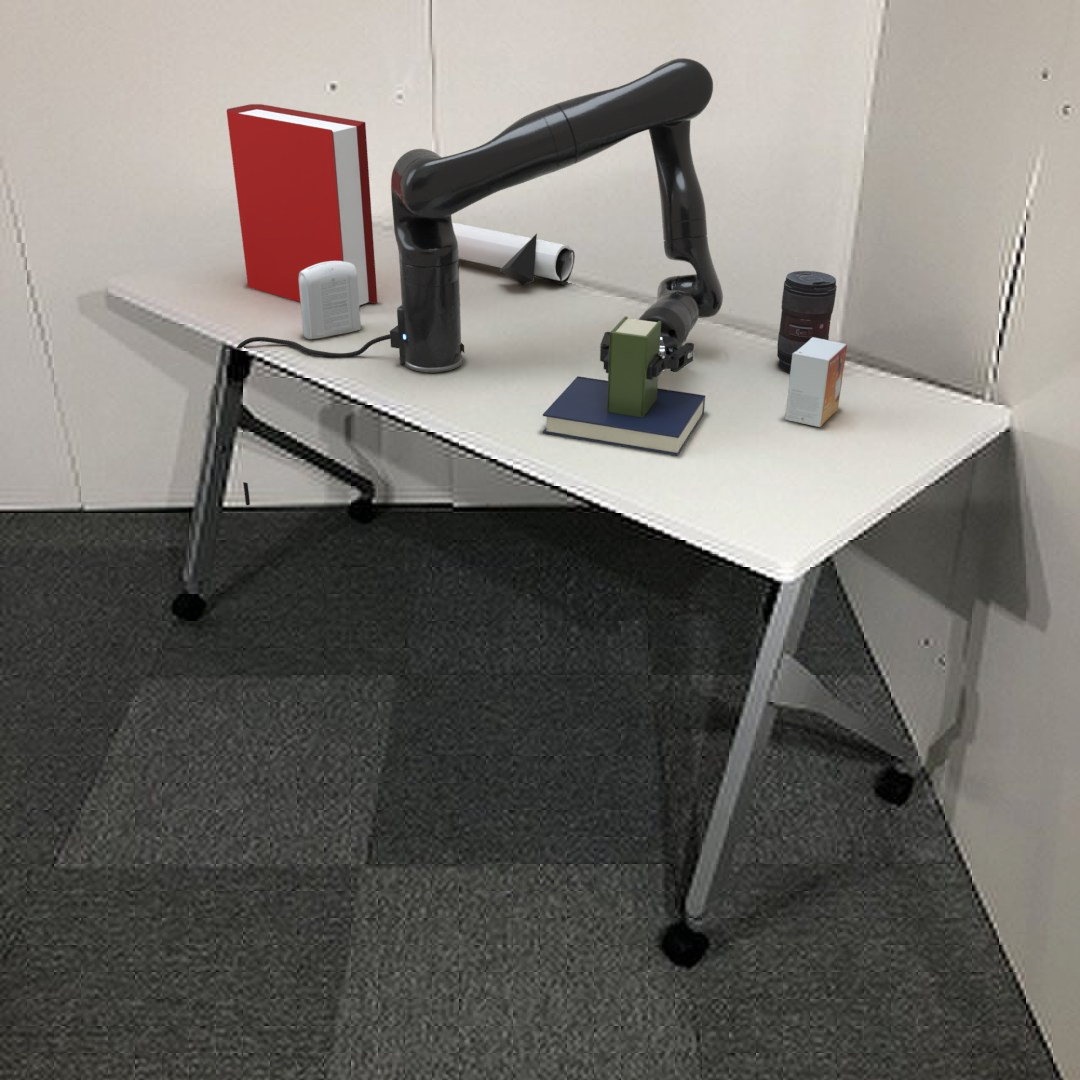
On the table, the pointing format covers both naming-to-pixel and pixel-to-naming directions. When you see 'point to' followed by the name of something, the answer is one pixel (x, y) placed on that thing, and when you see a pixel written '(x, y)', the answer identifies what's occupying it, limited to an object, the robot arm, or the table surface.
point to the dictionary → (632, 366)
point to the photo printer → (329, 299)
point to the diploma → (515, 254)
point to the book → (301, 196)
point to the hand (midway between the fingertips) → (629, 369)
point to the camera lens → (804, 312)
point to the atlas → (624, 418)
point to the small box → (815, 381)
